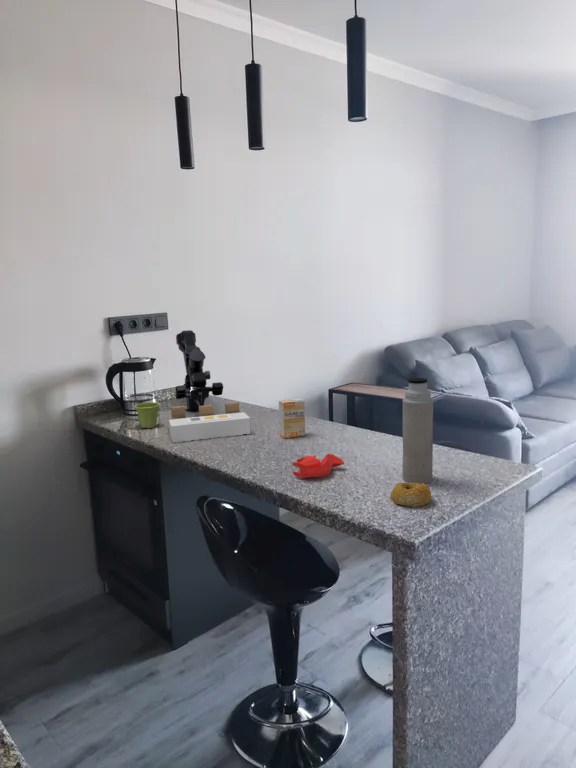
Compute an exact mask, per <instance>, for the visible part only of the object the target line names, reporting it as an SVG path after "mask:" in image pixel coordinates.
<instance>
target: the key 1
mask: <svg viewBox="0 0 576 768" xmlns="http://www.w3.org/2000/svg"><path fill="white" fill-rule="evenodd" d="M185 409H186V407H185V405H177V406H170V412H171V420H172V419H181V418H187V417H186V414H187V413H186V410H185Z"/></svg>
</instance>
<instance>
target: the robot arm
mask: <svg viewBox="0 0 576 768" xmlns="http://www.w3.org/2000/svg"><path fill="white" fill-rule="evenodd" d="M196 338H197V337H196V333H195V332H194V331H193V330H191V329H190V330H182V331H180V332H179V333H177V334H176V335H175V341H176V342H175V343H176V345H177V346H178V350H179V351H180V352H181V353H182V355H183V361H184V366H185V373H186V375H185V377H184V383H183V384H182V385H176V386H175V391H174V392H175V393H174V395H175V399H176V400H180V399H181V400H182V399H185V398H186V407H187V408H185V412H193V413H195V412H199V406H204V405H205V401H206V400H207V399H208V398H209V397H210V392H211V394H212V395H213V396H214V397H215V396H221V395H223V391H224V384H223V382H221V381H219V382H212V385H211V386H207V384H208V383H207V380H211V371H210V370H205V371H204V368H203V367H204V363H205V362H204V361H205V359H206V355H205V353H204V352H203V351H202V350H201V348H200V347H199V346H197V344H196V342H197V339H196Z"/></svg>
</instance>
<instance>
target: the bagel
mask: <svg viewBox="0 0 576 768" xmlns="http://www.w3.org/2000/svg"><path fill="white" fill-rule="evenodd" d="M391 499H392V500H393V501H392V500H391ZM431 499H432V491H431V490H430V487H429V486H428V485H427V483H425V484H419V483H415V482H414V483H408V482H398V483H397V484H396V485H395V486H394V488H392V490H391V492H390V500H391V501H392V502H393V503H395V504H396V505H399V504H400V505H399V506H404V505H406V506H405V507H409V506H420V507H423V506H422V505H424V506H425V504H426V505H428V503H429V502H430V501H431Z"/></svg>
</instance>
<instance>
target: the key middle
mask: <svg viewBox="0 0 576 768" xmlns="http://www.w3.org/2000/svg"><path fill="white" fill-rule="evenodd" d="M198 415H199V416H198V417H201V416H211V415H214V406H213V404H207V405H205V404H204V406H199V411H198Z"/></svg>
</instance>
